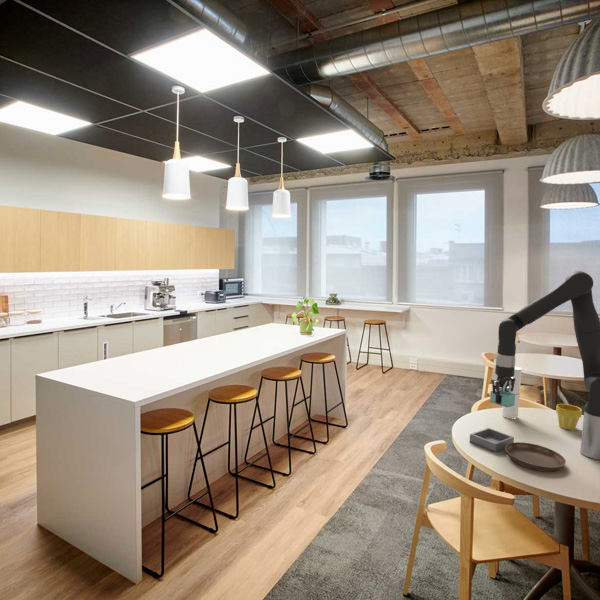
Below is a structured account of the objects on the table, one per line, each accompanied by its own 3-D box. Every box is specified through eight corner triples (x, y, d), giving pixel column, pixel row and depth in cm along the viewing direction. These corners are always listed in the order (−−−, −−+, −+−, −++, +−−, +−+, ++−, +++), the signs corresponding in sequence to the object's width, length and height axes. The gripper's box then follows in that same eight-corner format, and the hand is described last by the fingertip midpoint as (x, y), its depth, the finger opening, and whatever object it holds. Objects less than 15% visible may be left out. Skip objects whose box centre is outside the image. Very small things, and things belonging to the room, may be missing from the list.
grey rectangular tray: (487, 435, 190) (488, 427, 189) (513, 445, 180) (514, 437, 180) (469, 441, 182) (470, 434, 182) (495, 452, 172) (495, 444, 172)
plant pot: (583, 433, 196) (585, 412, 195) (558, 429, 199) (560, 409, 198) (575, 424, 206) (577, 405, 205) (551, 422, 209) (553, 402, 208)
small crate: (497, 400, 192) (498, 389, 192) (514, 405, 186) (515, 394, 185) (490, 401, 189) (490, 390, 189) (507, 407, 183) (508, 396, 182)
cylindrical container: (506, 419, 211) (510, 369, 208) (499, 413, 218) (503, 365, 216) (520, 419, 211) (524, 369, 209) (512, 414, 218) (516, 366, 216)
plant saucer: (572, 463, 166) (572, 455, 165) (555, 480, 152) (555, 471, 151) (516, 445, 181) (516, 437, 180) (496, 459, 167) (496, 451, 166)
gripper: (506, 361, 193) (503, 397, 195) (487, 364, 185) (484, 402, 187) (522, 364, 187) (519, 402, 188) (503, 368, 179) (500, 407, 180)
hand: (502, 402), depth 187 cm, fingers closed on small crate, 5 cm apart
